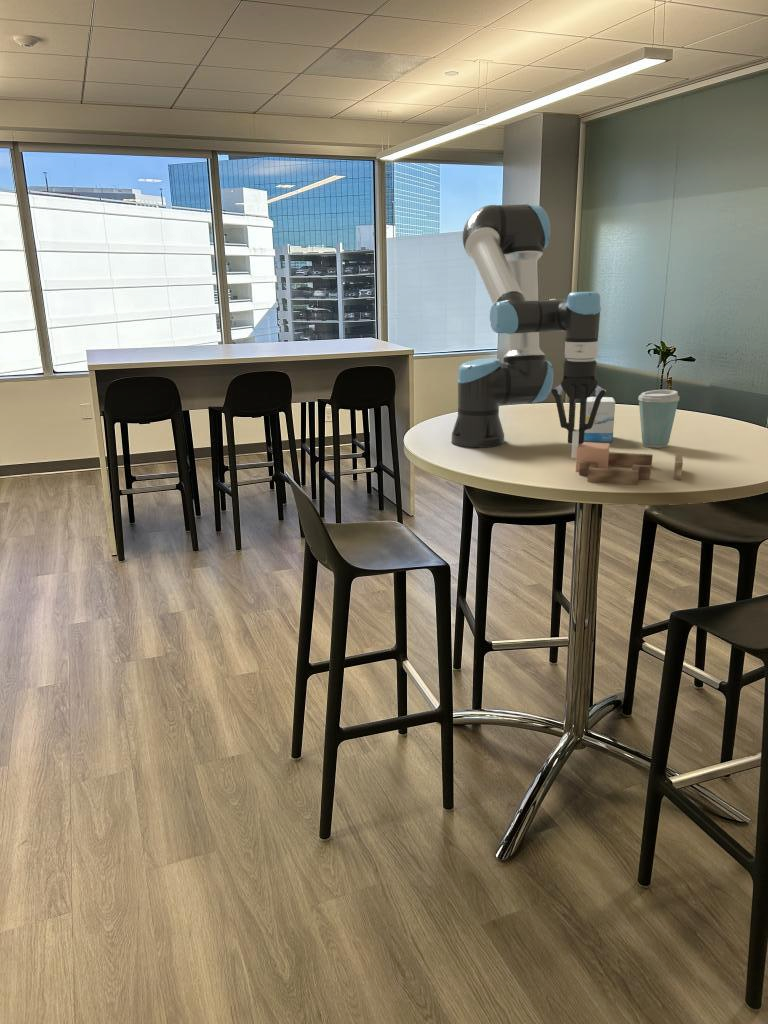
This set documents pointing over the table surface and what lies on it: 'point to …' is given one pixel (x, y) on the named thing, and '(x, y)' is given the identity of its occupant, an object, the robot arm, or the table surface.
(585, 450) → the block
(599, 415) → the ink box
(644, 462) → the open wooden frame
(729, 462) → the table surface
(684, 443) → the table surface
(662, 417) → the disposable coffee cup
